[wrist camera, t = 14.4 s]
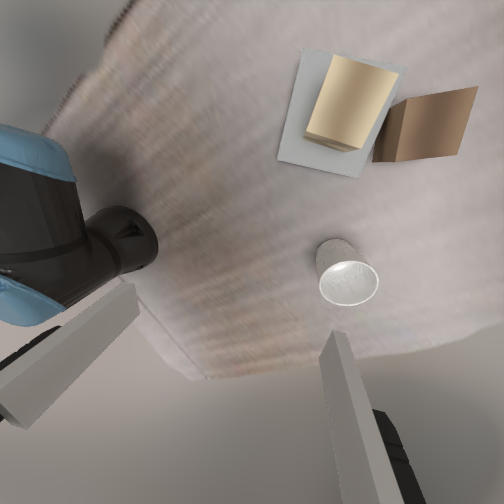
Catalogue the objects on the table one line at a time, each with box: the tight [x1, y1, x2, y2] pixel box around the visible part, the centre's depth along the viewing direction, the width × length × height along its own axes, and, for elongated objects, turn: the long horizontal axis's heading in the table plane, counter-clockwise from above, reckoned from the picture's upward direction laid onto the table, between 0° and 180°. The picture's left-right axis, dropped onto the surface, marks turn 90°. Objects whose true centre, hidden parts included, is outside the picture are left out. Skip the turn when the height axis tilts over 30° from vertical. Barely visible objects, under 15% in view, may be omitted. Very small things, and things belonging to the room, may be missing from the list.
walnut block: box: [372, 86, 478, 162], centre depth 23 cm, size 6×6×7 cm
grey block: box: [277, 48, 407, 178], centre depth 26 cm, size 12×12×4 cm
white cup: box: [316, 239, 379, 306], centre depth 31 cm, size 8×8×10 cm
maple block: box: [303, 54, 399, 153], centre depth 21 cm, size 6×6×7 cm
